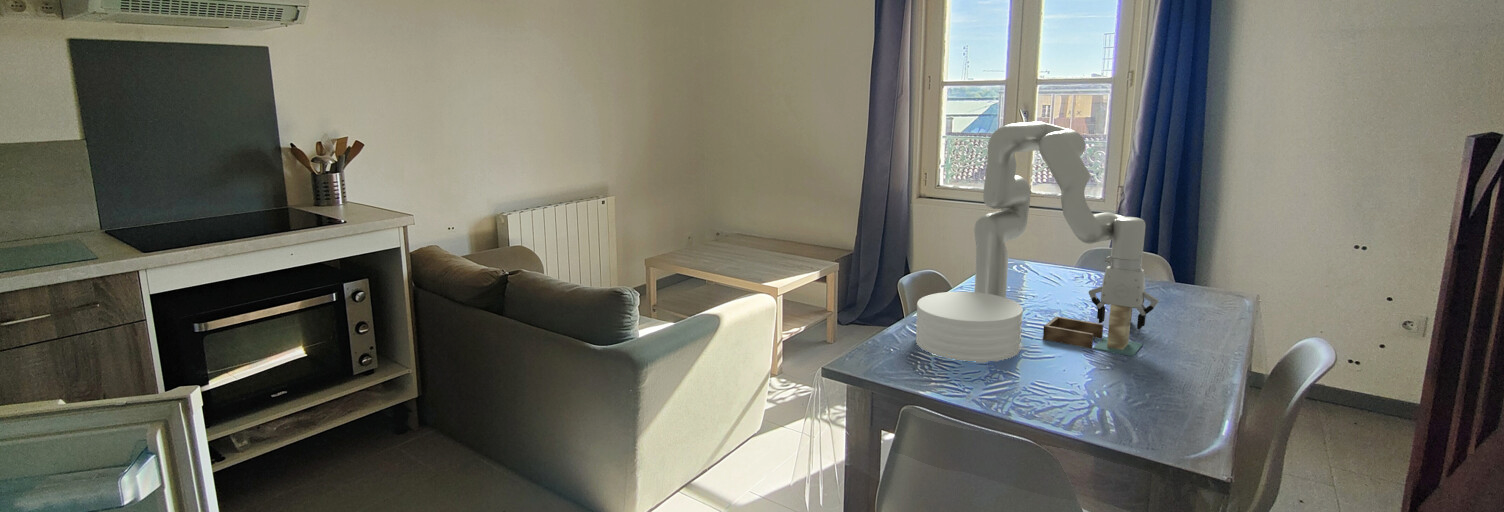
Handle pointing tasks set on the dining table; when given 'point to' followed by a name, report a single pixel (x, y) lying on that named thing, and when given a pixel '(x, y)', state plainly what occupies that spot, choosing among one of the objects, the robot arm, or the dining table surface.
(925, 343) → the plate stack
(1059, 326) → the crate
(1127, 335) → the birch block
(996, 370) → the dining table surface
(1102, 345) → the mat
